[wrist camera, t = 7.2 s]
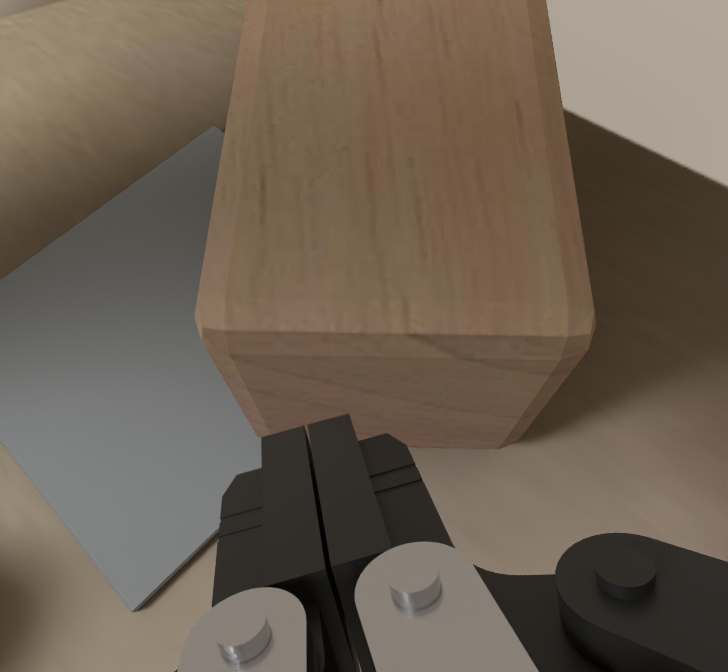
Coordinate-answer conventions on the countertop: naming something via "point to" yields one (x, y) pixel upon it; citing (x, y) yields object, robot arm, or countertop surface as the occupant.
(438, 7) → the block
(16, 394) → the mat
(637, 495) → the countertop surface
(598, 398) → the countertop surface
